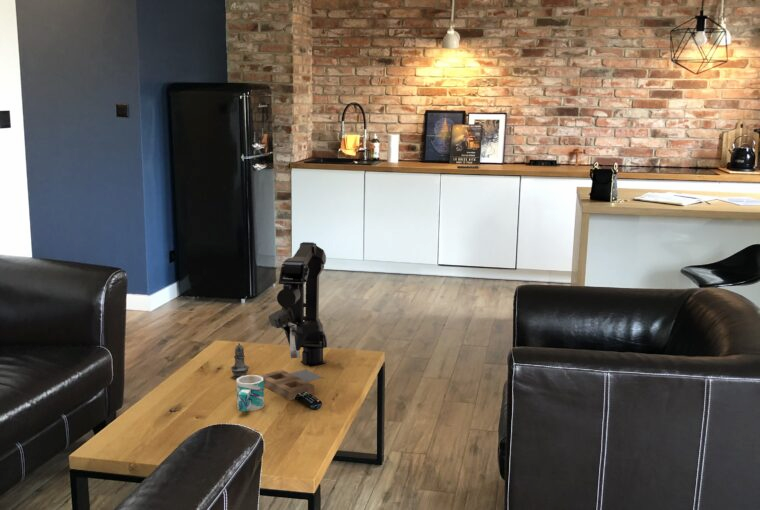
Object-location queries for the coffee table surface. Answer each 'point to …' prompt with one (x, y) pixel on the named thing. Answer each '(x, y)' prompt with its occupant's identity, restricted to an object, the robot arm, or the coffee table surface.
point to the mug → (250, 392)
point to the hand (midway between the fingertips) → (294, 349)
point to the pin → (293, 345)
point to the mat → (306, 375)
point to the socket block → (286, 384)
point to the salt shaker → (239, 363)
